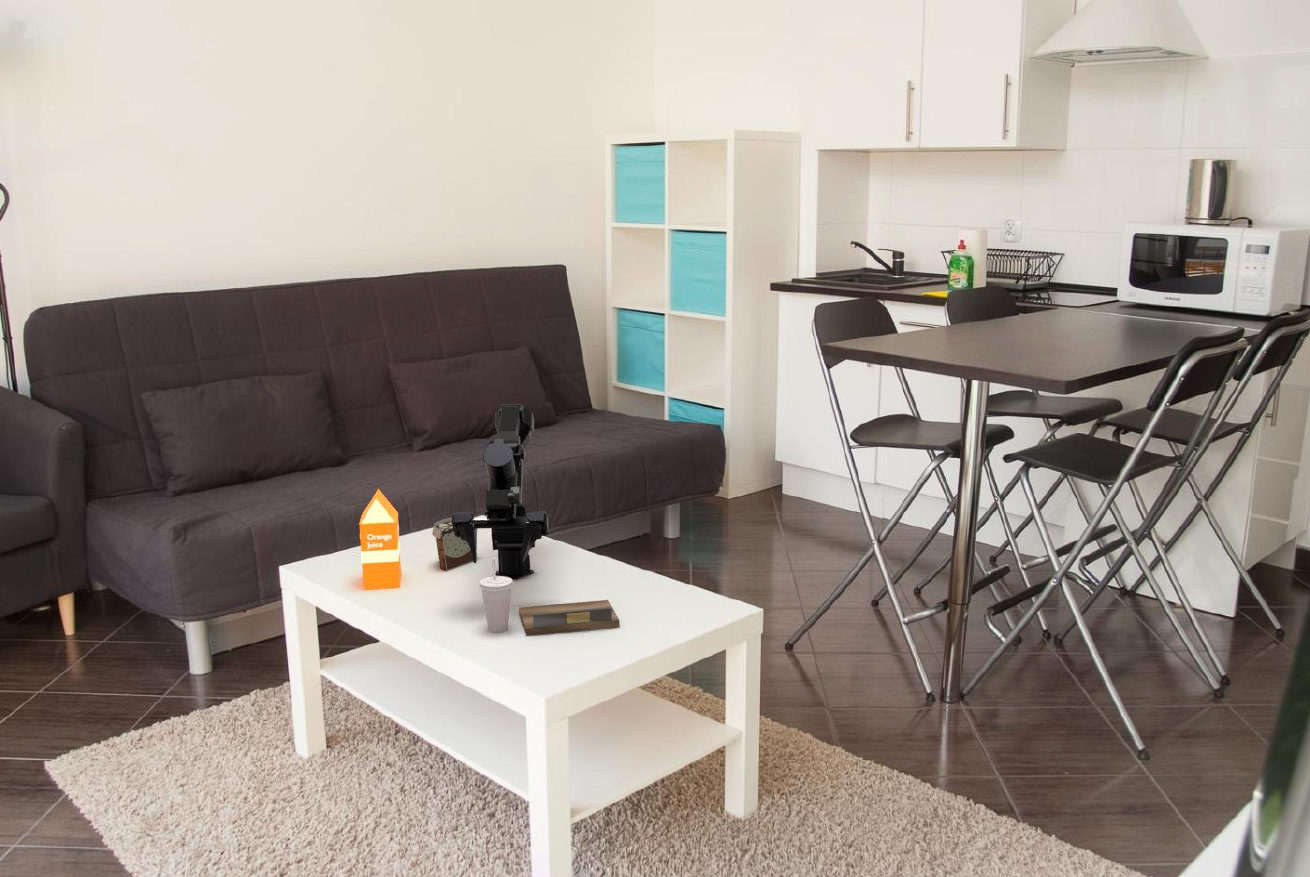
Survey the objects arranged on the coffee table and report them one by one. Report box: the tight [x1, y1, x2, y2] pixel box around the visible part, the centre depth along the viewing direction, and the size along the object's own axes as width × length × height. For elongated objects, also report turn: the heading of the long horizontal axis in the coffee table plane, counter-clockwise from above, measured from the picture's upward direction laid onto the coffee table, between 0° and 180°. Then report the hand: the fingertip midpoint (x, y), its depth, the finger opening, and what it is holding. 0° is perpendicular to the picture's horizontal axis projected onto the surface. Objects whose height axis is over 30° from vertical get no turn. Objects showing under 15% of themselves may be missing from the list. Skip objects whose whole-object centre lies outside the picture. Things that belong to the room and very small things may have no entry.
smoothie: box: [479, 557, 514, 633], centre depth 223 cm, size 6×6×14 cm
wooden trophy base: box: [518, 599, 620, 637], centre depth 228 cm, size 12×18×4 cm
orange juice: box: [358, 488, 402, 591], centre depth 251 cm, size 8×9×20 cm
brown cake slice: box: [431, 516, 478, 572], centre depth 265 cm, size 12×6×10 cm, turn 144°
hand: (498, 561), depth 228 cm, fingers open, 9 cm apart
